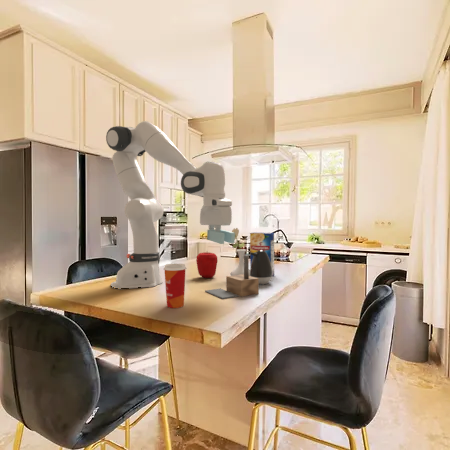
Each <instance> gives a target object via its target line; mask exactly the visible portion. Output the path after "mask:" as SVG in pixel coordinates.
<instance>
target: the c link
mask: <svg viewBox="0 0 450 450" xmlns="http://www.w3.org/2000/svg"><path fill="white" fill-rule="evenodd" d="M206 231H207V233H206V235H207V237H206V240H207V241H211V242H214V243H216V244H220V245H224V244H225V243H226V242H227V243H229V244H236V243H235V241H236V239H235V233H234V232H232V231H230V230H226V229H222V228H221V229H220V232H218V231H215V228H214V230H209V229H207V230H206Z"/></svg>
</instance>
